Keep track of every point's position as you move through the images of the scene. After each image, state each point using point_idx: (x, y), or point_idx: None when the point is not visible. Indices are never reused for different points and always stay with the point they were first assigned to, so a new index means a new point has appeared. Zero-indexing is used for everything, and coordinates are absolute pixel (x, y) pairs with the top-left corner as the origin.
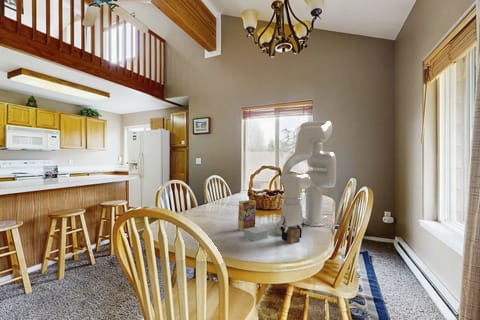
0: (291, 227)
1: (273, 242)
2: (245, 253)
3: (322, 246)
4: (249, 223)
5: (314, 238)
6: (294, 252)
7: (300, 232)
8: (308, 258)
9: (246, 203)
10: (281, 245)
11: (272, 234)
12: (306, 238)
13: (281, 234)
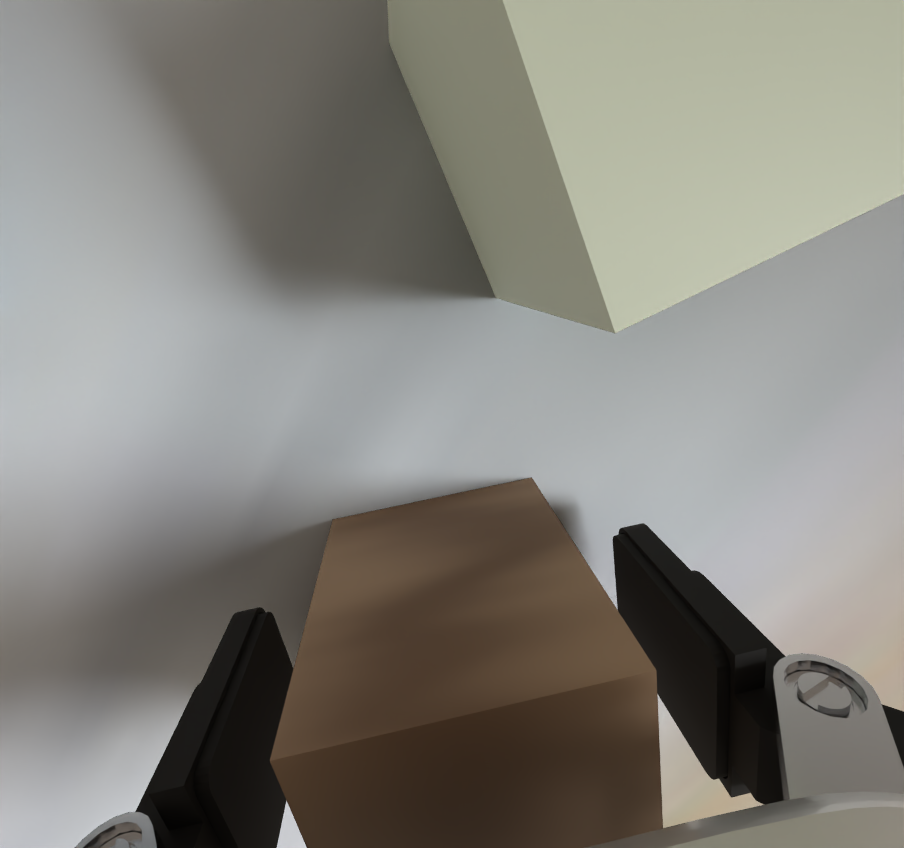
0: (552, 759)
1: (80, 561)
2: None
3: (724, 794)
4: None
5: (885, 552)
6: None
7: (683, 723)
8: None
9: None
10: (186, 694)
11: (231, 68)
12: (776, 523)
13: (453, 192)
